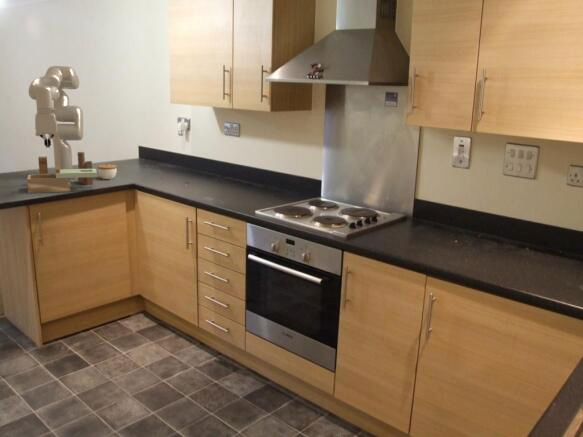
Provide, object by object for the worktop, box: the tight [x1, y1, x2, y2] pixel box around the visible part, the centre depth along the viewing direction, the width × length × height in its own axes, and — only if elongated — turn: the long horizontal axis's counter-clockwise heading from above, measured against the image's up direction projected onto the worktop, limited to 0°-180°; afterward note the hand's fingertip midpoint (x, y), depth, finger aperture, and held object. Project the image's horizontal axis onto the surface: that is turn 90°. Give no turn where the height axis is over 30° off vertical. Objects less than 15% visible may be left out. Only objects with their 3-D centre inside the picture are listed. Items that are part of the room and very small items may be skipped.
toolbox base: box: [26, 173, 71, 194], centre depth 279 cm, size 12×20×8 cm, turn 113°
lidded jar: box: [97, 162, 118, 180], centre depth 317 cm, size 11×11×9 cm
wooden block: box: [77, 151, 94, 186], centre depth 297 cm, size 4×11×18 cm, turn 48°
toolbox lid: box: [54, 166, 98, 179], centre depth 282 cm, size 12×20×4 cm, turn 113°
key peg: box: [38, 156, 49, 175], centre depth 289 cm, size 4×4×16 cm
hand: (47, 147), depth 274 cm, fingers closed
